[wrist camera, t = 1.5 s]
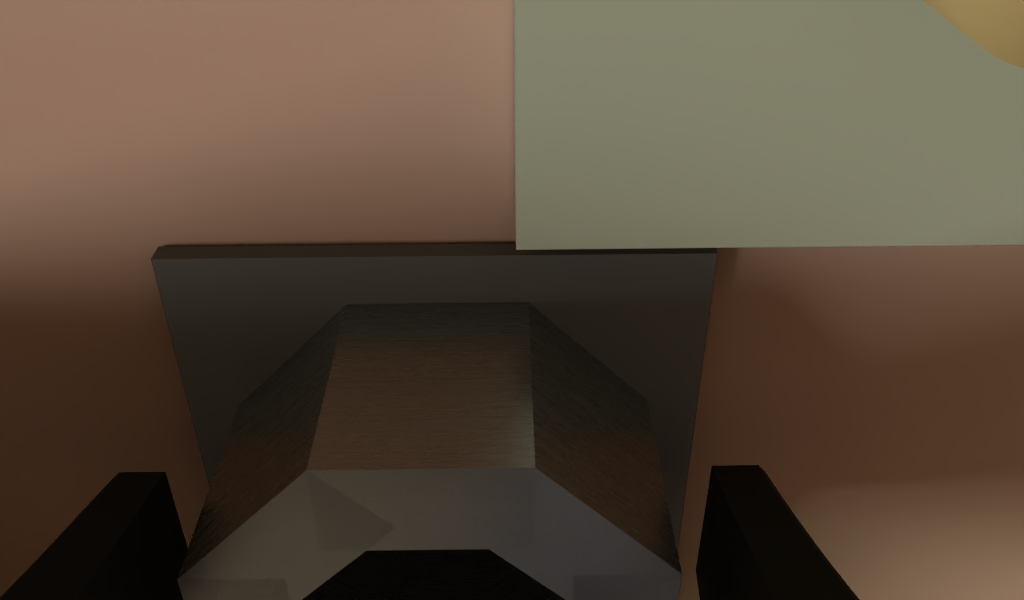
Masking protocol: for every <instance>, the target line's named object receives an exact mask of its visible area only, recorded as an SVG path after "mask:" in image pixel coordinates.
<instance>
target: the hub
mask: <svg viewBox="0 0 1024 600" xmlns="http://www.w3.org/2000/svg"><path fill="white" fill-rule="evenodd" d="M514 86H515V224H516V250H541V249H640V248H739V247H838V246H937V245H1024V0H514Z"/></svg>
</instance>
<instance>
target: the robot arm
mask: <svg viewBox="0 0 1024 600" xmlns="http://www.w3.org/2000/svg"><path fill="white" fill-rule="evenodd" d="M187 551H188V548H187V544H186V541H185V538H184V534H183V531H182V527H181V524H180V520H179V517H178V513H177V510H176V507H175V503H174V500H173V496H172V493H171V489H170V486H169V483H168V479H167V476H166V472H120V473H118V474H117V475H116V476H115V477H114V478H113V479H112V480H111V481H110V482H109V483H108V484H107V486H106V487H105V488H104V489H103V490H102V491H101V492H100V493H99V494H98V495H97V496H96V497H95V498H94V499H93V500H92V501H91V502H90V504H89V505H88V506H87V507H86V508H85V509H84V510H83V511H82V512H81V513H80V514H79V515H78V517H77V518H76V519H75V520H74V521H73V522H72V523H71V524H70V525H69V526H68V527H67V528H66V529H65V531H64V532H63V533H62V534H61V535H60V536H59V537H58V538H57V539H56V540H55V541H54V542H53V543H52V544H51V545H50V547H49V548H48V549H47V550H46V551H45V552H44V553H43V554H42V555H41V556H40V557H39V558H38V559H37V560H36V561H35V562H34V563H33V564H32V565H31V567H30V568H29V569H28V570H27V571H26V572H25V573H24V574H23V575H22V576H21V577H20V578H19V579H18V580H17V581H16V582H15V583H14V584H13V585H12V586H11V587H10V588H9V589H8V590H7V591H6V592H5V593H4V594H3V595H2V596H1V597H0V600H183V597H182V594H181V591H180V587H179V584H178V581H177V579H178V576H179V573H180V570H181V568H182V565H183V562H184V559H185V556H186V553H187ZM696 574H697V581H698V588H699V595H700V600H859V599H858V597H857V596H856V595H855V594H854V592H853V591H852V590H851V589H850V587H849V586H848V585H847V584H846V582H845V581H844V580H843V579H842V577H841V576H840V575H839V574H838V572H837V571H836V570H835V569H834V567H833V566H832V565H831V563H830V562H829V561H828V560H827V558H826V557H825V556H824V554H823V553H822V552H821V550H820V549H819V548H818V546H817V545H816V544H815V542H814V541H813V540H812V538H811V537H810V535H809V534H808V533H807V531H806V530H805V529H804V527H803V526H802V525H801V523H800V522H799V520H798V519H797V518H796V516H795V515H794V513H793V512H792V511H791V509H790V508H789V506H788V505H787V503H786V502H785V500H784V499H783V498H782V496H781V495H780V493H779V492H778V490H777V489H776V487H775V486H774V484H773V483H772V481H771V480H770V478H769V477H768V475H767V474H766V472H765V471H764V470H763V469H762V468H761V467H760V466H759V465H738V466H712V469H711V476H710V482H709V489H708V495H707V502H706V508H705V515H704V521H703V528H702V534H701V541H700V547H699V554H698V560H697V567H696Z"/></svg>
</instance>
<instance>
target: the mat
mask: <svg viewBox="0 0 1024 600" xmlns="http://www.w3.org/2000/svg"><path fill="white" fill-rule="evenodd" d="M151 261H152V265H153V269H154V272H155V276H156V280H157V284H158V288H159V292H160V296H161V300H162V304H163V307H164V311H165V315H166V319H167V323H168V327H169V331H170V335H171V339H172V342H173V346H174V350H175V354H176V358H177V362H178V366H179V370H180V374H181V377H182V381H183V385H184V389H185V393H186V397H187V401H188V405H189V409H190V412H191V416H192V420H193V424H194V428H195V432H196V436H197V440H198V444H199V447H200V451H201V455H202V459H203V463H204V467H205V471H206V475H207V479H208V482H209V486H211V483H212V480H213V477H214V475H215V472H216V469H217V466H218V463H219V461H220V458H221V455H222V452H223V449H224V446H225V444H226V441H227V438H228V435H229V432H230V430H231V427H232V424H233V421H234V418H235V416H236V413H237V410H238V407H239V404H240V403H241V402H242V401H243V400H245V399H246V398H247V397H248V396H249V395H250V394H251V393H252V392H253V391H254V390H255V389H256V388H257V387H258V386H260V385H261V384H262V383H263V382H264V381H265V380H266V379H267V378H268V377H269V376H270V375H271V374H272V373H273V372H275V371H276V370H277V369H278V368H279V367H280V366H281V365H282V364H283V363H284V362H285V361H286V360H287V359H288V358H290V357H291V356H292V355H293V354H294V353H295V352H296V351H297V350H298V349H299V348H300V347H301V346H302V345H303V344H304V343H306V342H307V341H308V340H309V339H310V338H311V337H312V336H313V335H314V334H315V333H316V332H317V331H318V330H319V329H321V328H322V327H323V326H324V325H325V324H326V323H327V322H328V321H329V320H330V319H331V318H332V317H333V316H334V315H336V314H337V313H338V312H339V311H340V310H341V309H342V308H343V307H344V306H345V305H346V304H408V303H504V302H529V303H530V304H531V305H532V306H533V307H535V308H536V309H537V310H538V311H540V312H541V313H542V314H543V315H544V316H546V317H547V318H548V319H549V320H551V321H552V322H553V323H554V324H555V325H557V326H558V327H559V328H560V329H561V330H563V331H564V332H565V333H566V334H568V335H569V336H570V337H571V338H572V339H574V340H575V341H576V342H577V343H579V344H580V345H581V346H582V347H583V348H585V349H586V350H587V351H588V352H589V353H591V354H592V355H593V356H594V357H596V358H597V359H598V360H599V361H600V362H602V363H603V364H604V365H605V366H607V367H608V368H609V369H610V370H611V371H613V372H614V373H615V374H616V375H617V376H619V377H620V378H621V379H622V380H624V381H625V382H626V383H627V384H628V385H630V386H631V387H632V388H633V389H635V390H636V391H637V392H638V393H639V394H641V395H642V396H643V397H644V398H645V399H647V402H648V407H649V412H650V417H651V422H652V427H653V432H654V437H655V442H656V447H657V452H658V457H659V462H660V467H661V472H662V477H663V482H664V487H665V492H666V497H667V502H668V507H669V512H670V517H671V522H672V528H673V533H674V538H675V543H676V548H677V550H678V543H679V536H680V528H681V521H682V513H683V506H684V498H685V491H686V484H687V476H688V469H689V461H690V454H691V446H692V439H693V432H694V424H695V417H696V409H697V402H698V395H699V387H700V380H701V372H702V365H703V357H704V350H705V343H706V335H707V328H708V320H709V313H710V305H711V298H712V291H713V283H714V276H715V268H716V261H717V251H716V248H640V249H541V250H516V243H482V244H382V245H283V246H184V247H158V248H157V250H156V252H155V253H154V255H153V257H152V258H151Z"/></svg>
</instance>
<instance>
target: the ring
mask: <svg viewBox="0 0 1024 600" xmlns="http://www.w3.org/2000/svg"><path fill="white" fill-rule="evenodd" d="M681 575H682V573H681V568H680V563H679V558H678V553H677V548H676V543H675V538H674V533H673V528H672V522H671V517H670V512H669V507H668V502H667V497H666V492H665V487H664V482H663V477H662V472H661V467H660V462H659V457H658V452H657V447H656V442H655V437H654V432H653V427H652V422H651V417H650V412H649V407H648V402H647V399H645V398H644V397H643V396H642V395H641V394H639V393H638V392H637V391H636V390H635V389H633V388H632V387H631V386H630V385H628V384H627V383H626V382H625V381H624V380H622V379H621V378H620V377H619V376H617V375H616V374H615V373H614V372H613V371H611V370H610V369H609V368H608V367H607V366H605V365H604V364H603V363H602V362H600V361H599V360H598V359H597V358H596V357H594V356H593V355H592V354H591V353H589V352H588V351H587V350H586V349H585V348H583V347H582V346H581V345H580V344H579V343H577V342H576V341H575V340H574V339H572V338H571V337H570V336H569V335H568V334H566V333H565V332H564V331H563V330H561V329H560V328H559V327H558V326H557V325H555V324H554V323H553V322H552V321H551V320H549V319H548V318H547V317H546V316H544V315H543V314H542V313H541V312H540V311H538V310H537V309H536V308H535V307H533V306H532V305H531V304H530V303H529V302H504V303H408V304H346V305H345V306H344V307H343V308H342V309H341V310H340V311H339V312H338V313H337V314H336V315H334V316H333V317H332V318H331V319H330V320H329V321H328V322H327V323H326V324H325V325H324V326H323V327H322V328H321V329H319V330H318V331H317V332H316V333H315V334H314V335H313V336H312V337H311V338H310V339H309V340H308V341H307V342H306V343H304V344H303V345H302V346H301V347H300V348H299V349H298V350H297V351H296V352H295V353H294V354H293V355H292V356H291V357H290V358H288V359H287V360H286V361H285V362H284V363H283V364H282V365H281V366H280V367H279V368H278V369H277V370H276V371H275V372H273V373H272V374H271V375H270V376H269V377H268V378H267V379H266V380H265V381H264V382H263V383H262V384H261V385H260V386H258V387H257V388H256V389H255V390H254V391H253V392H252V393H251V394H250V395H249V396H248V397H247V398H246V399H245V400H243V401H242V402H241V403H240V404H239V407H238V410H237V413H236V416H235V418H234V421H233V424H232V427H231V430H230V432H229V435H228V438H227V441H226V444H225V446H224V449H223V452H222V455H221V458H220V461H219V463H218V466H217V469H216V472H215V475H214V477H213V480H212V483H211V486H210V489H209V492H208V494H207V497H206V500H205V503H204V506H203V508H202V511H201V514H200V517H199V520H198V522H197V525H196V528H195V531H194V534H193V537H192V539H191V542H190V545H189V548H188V551H187V553H186V556H185V559H184V562H183V565H182V568H181V570H180V573H179V576H178V579H177V581H178V584H179V587H180V591H181V594H182V597H183V600H678V597H679V590H680V583H681Z"/></svg>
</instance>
